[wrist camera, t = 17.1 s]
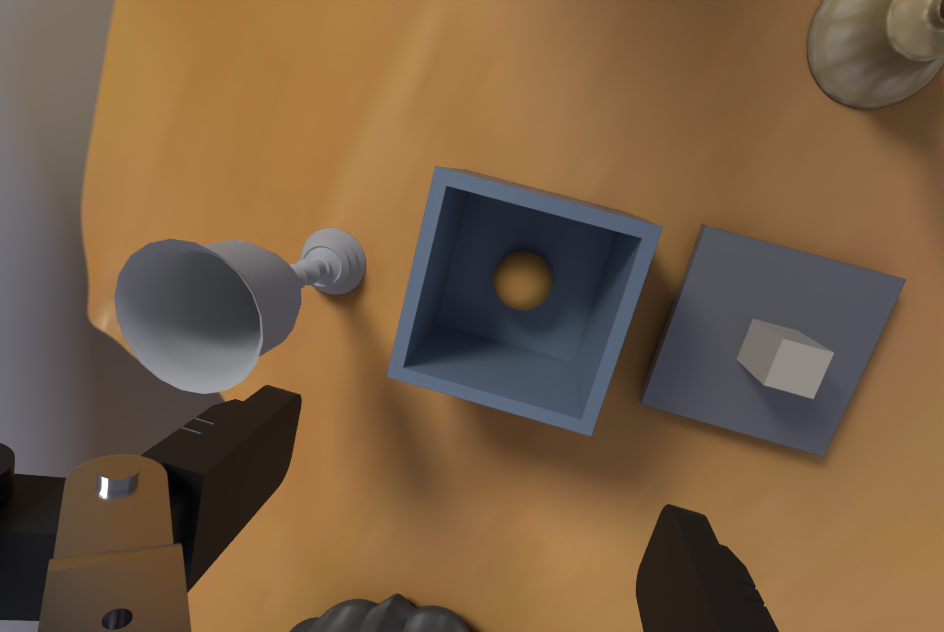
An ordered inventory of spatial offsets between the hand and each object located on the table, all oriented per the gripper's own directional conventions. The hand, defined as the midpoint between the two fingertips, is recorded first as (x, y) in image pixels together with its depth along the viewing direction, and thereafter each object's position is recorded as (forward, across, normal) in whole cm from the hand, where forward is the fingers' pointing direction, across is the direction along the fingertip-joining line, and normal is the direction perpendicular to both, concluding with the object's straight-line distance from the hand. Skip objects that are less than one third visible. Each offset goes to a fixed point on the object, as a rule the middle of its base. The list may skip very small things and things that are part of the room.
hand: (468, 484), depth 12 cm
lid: (+30, -17, 0) cm, 35 cm away
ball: (+27, 0, 0) cm, 27 cm away
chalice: (+30, +14, +3) cm, 33 cm away
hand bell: (+30, -17, -20) cm, 40 cm away
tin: (+30, 0, 0) cm, 30 cm away
